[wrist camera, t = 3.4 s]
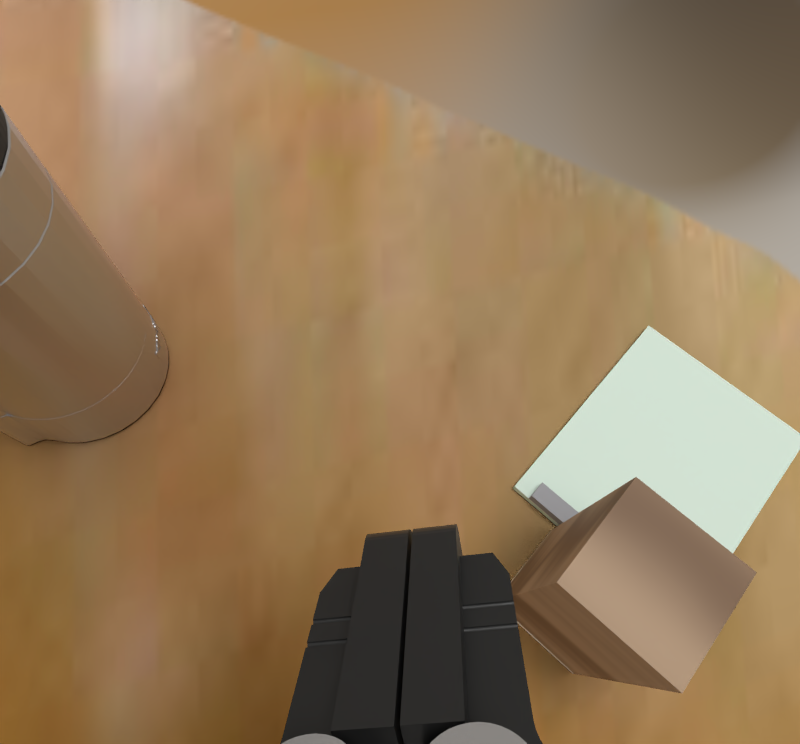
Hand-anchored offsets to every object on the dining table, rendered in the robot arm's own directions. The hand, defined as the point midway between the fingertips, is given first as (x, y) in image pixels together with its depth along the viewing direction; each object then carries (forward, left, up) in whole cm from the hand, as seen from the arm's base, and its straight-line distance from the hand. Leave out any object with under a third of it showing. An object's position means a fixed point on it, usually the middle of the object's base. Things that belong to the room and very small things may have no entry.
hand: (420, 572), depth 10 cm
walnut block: (+8, -3, -23) cm, 25 cm away
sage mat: (+18, 0, -23) cm, 29 cm away
